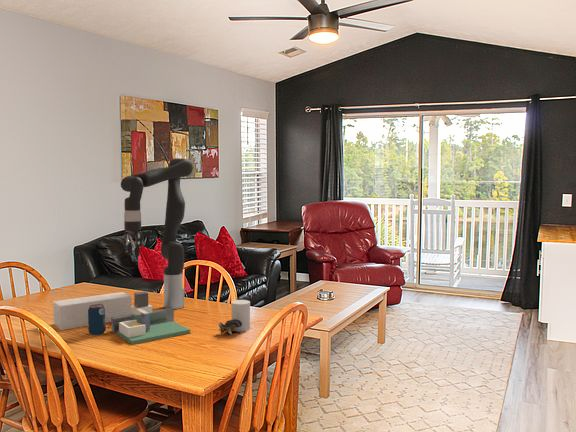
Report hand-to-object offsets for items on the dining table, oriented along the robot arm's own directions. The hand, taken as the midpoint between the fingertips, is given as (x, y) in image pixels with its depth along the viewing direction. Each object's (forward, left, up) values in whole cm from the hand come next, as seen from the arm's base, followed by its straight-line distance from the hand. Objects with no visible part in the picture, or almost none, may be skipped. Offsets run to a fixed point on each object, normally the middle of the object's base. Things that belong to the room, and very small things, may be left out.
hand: (133, 254), depth 256 cm
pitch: (+3, +28, -30) cm, 41 cm away
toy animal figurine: (-23, +47, -30) cm, 61 cm away
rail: (+2, +15, -30) cm, 34 cm away
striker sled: (+3, +20, -28) cm, 35 cm away
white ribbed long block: (+17, -7, -31) cm, 36 cm away
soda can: (+22, +13, -30) cm, 40 cm away
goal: (+12, +26, -29) cm, 40 cm away
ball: (+9, +26, -27) cm, 38 cm away
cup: (-31, +44, -30) cm, 61 cm away
